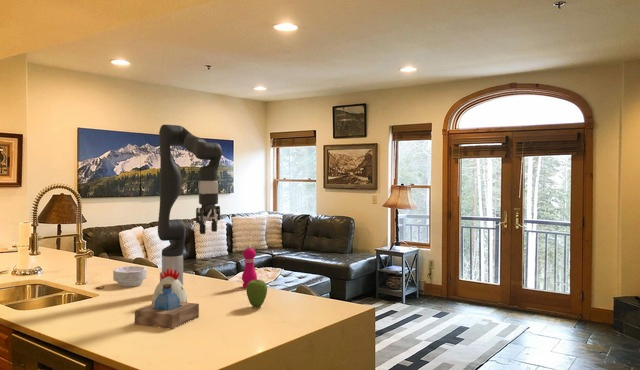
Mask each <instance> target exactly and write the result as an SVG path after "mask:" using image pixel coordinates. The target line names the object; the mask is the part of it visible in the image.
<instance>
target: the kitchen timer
mask: <svg viewBox="0 0 640 370" xmlns="http://www.w3.org/2000/svg"><path fill="white" fill-rule="evenodd" d="M179 273H180V272H179ZM179 273H178V274H177V271H176V269H175V271H174V274H173V270H172V269H171V270H170V272H169V268H168V269H167V273H166V272H165V271H164V276H163V275H162V274H160V273H159V276H160V275H161V278H162V280H161V281H160V280H159V283H158V284H157V285H156V286H155V289H154V292H153V295H152V299H151V304H154V303H155V300H156V299H157V297H158V296H159V294H162V293H163V291H162V288H163V284H172V286H171V287H172V291H171V293H175V294H176V295H177V296H178V298H179V299H180V302H187V303H188V296H187V293H186V290H185V287H184V284H183V285H182V284H181V282H180V281H179V280H178V279H177V278H178V276H179Z"/></svg>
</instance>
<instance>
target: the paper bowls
mask: <svg viewBox="0 0 640 370" xmlns="http://www.w3.org/2000/svg"><path fill="white" fill-rule="evenodd" d="M147 271H148V269H147V267H145V266H142V265H141V266H140V265H138V266H137V265H130V266H129V265H128V266H120V267H117V268H114V269H113V275H112V276H113V280H112V281H114V282H116V283H117V285H118V286H119V287H121V288H123V287H124V288H132V286H133V287H137V286H140V285H142V284H143V281H145V280H146V279H147V277H148V272H147Z"/></svg>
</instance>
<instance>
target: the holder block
mask: <svg viewBox="0 0 640 370" xmlns="http://www.w3.org/2000/svg"><path fill="white" fill-rule="evenodd" d="M199 305H200V304H199V303H197V302H196V303H195V302H188V301H187V302H180V307H178V308H176V309H173V310H171V311H167V310H158V309H155V303H154V304H152V303H151V304H148V305H146V306H143V307H141V308H138V309H135V310H134V325H136V326H144V327H152V328H158V327H160V328H159V329H166V328H170V329H169V330H174V329H176V328H175V327H177V328H179V327H180V325H181V326H183V325H185V324H187V323H189V322H191V321H194V320H195V318H196V319H198V318H200V317H199V316H200V313H199V311H200V306H199ZM197 317H198V318H197ZM193 319H194V320H193ZM190 320H191V321H190ZM188 321H189V322H188ZM186 322H187V323H186ZM184 323H185V324H184ZM182 324H183V325H182ZM178 326H179V327H178Z"/></svg>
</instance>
